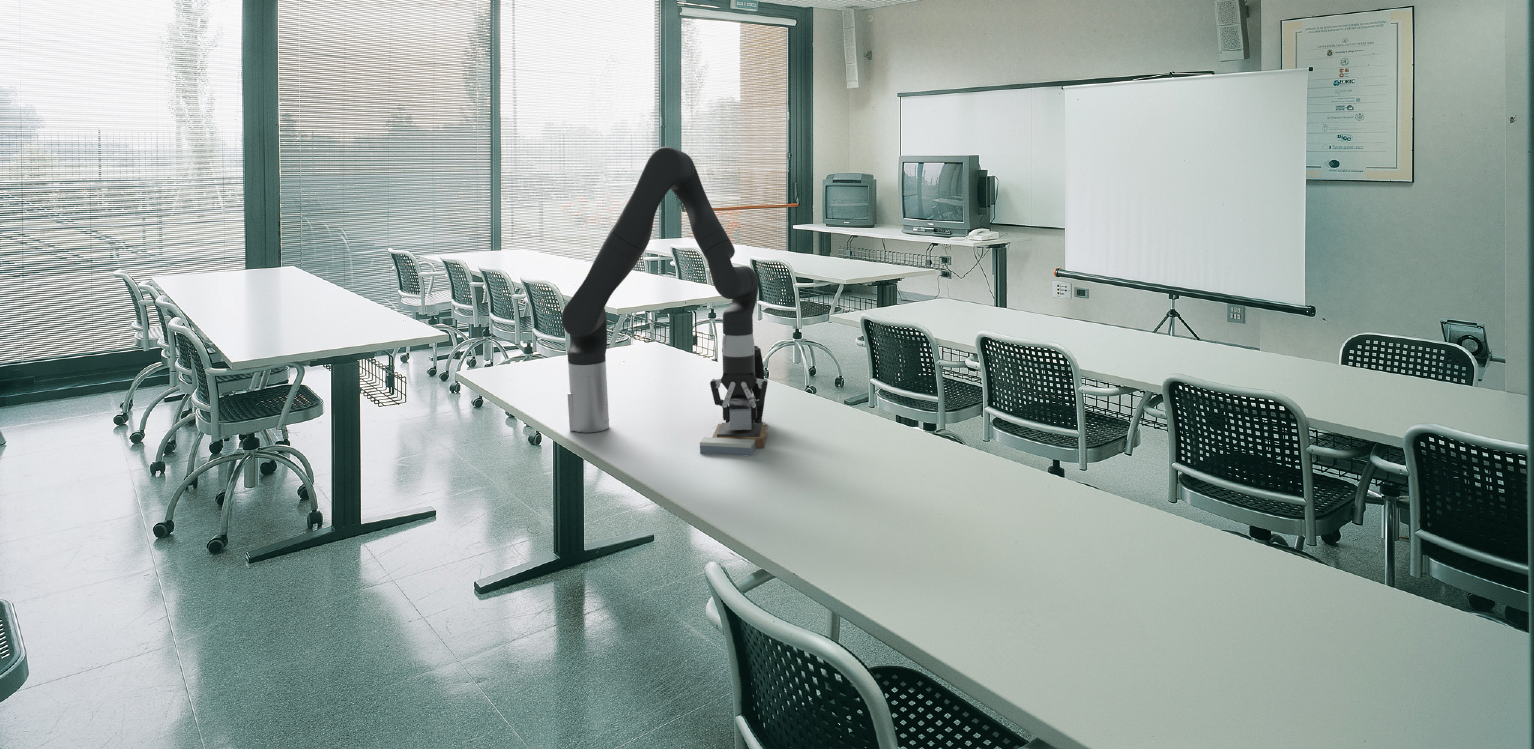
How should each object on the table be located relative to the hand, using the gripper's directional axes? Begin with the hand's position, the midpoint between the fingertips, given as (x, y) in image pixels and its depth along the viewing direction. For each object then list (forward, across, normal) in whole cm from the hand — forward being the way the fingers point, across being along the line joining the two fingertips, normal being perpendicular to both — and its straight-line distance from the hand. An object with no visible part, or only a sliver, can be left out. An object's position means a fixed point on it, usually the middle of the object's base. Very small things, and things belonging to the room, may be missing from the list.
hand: (739, 421), depth 227 cm
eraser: (+5, +2, +9) cm, 11 cm away
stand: (+5, 0, 0) cm, 5 cm away
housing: (+1, 0, 0) cm, 1 cm away
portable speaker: (+5, 0, -16) cm, 17 cm away
